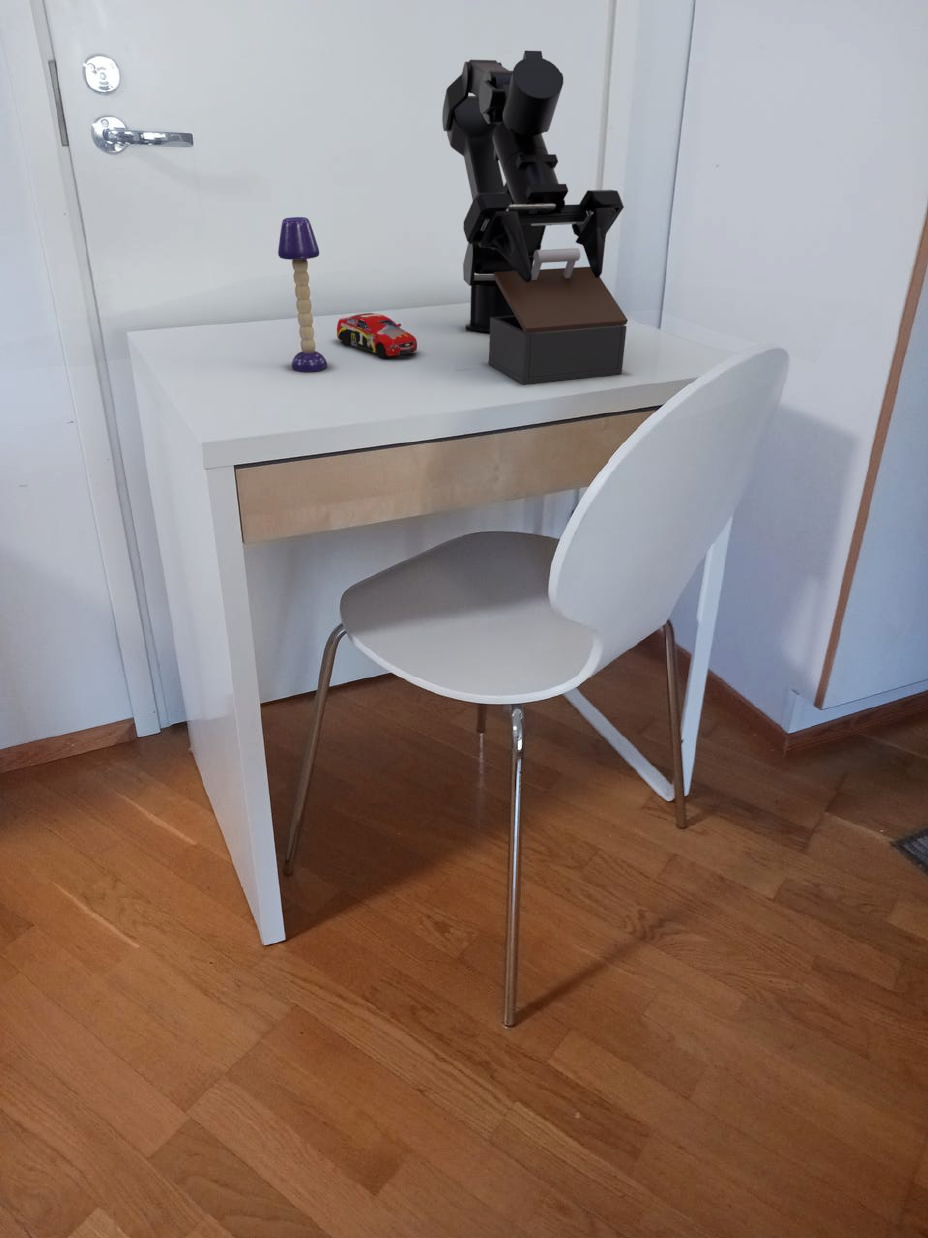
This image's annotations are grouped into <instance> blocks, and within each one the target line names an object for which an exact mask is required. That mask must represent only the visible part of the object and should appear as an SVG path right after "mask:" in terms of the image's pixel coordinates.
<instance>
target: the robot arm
mask: <svg viewBox="0 0 928 1238" xmlns="http://www.w3.org/2000/svg"><path fill="white" fill-rule="evenodd" d="M563 85H564V75H563V73H562V72H561V71H560V69H559V68H558V66H556V65H555V64H554V63H552V62H551V61H550V60H547V59H546V58H543V52H542V50H524V51H523V56H522V59H521V60H519V61H518V62H517V63H516V64H515V65H514V66H513V69H512V70H509V69H508V68H506V67H504V66H503V63H502V62H500V61H499V62H498V61H497V60H496V59H494V60H493V59H469V60H468V61H465V62H464V63H463V66H462V71H461V74H460V75H459V76H458V77H457V78H456V79H455V80H454V81H453V82H452V83H451V84H450V85H448V87H447V88H446V91H445V95H444V100H443V106H442V115H441V118H442V119H441V122H442V130H443V132H446V136H447V139H448V142H449V146H450V147H451V149H453V150H454V151H455V152H456V153H458V154H460V155H461V156H462V157H463V160H464V165H465V169H466V174H467V179H468V185H469V189H470V195H471V199H472V200H471V201H472V202H471V204H470V207H469V208H468V211H467V213H466V216H465V218H464V220H463V233H464V235H465V239H466V242H467V245H466V250H465V255H464V259H463V262H462V272H463V281H464V282H465V284H467V285H468V286H469V287H470V311H469V313H470V314H469V323H468V324H466V325H465V326H464V329H465V330H467V331H468V330H469V331H475V332H484V333H490V317H501V316H514V313H513V311H512V309H511V307H510V306H509V304H508V302H507V300H506V299H505V297H504V295H503V293H502V292H501V290H500V288H499V286H498V285H497V283H496V281H495V279H494V277H493V275H494V272H505V271H517V272H518V274H519V275H520V276H521V277H522V278H523V280H524V281H525V282H530V280H531V278H532V272H531V270H532V267H533V264H534V252H535V251H536V250H542V243H543V242H542V241H543V239H544V236H545V231H546V228H547V226H562V225H571V228H572V231H573V234H574V236H576V237H577V238H576V240H574V241H575V244H579V245H581V246H582V247H583V250H584V253H585V255H586V259H587V261H588V264H589V267H590V268H591V270H592V272H593V274H594V276H595V278H599V277H600V278H601V276H602V274H603V267H604V257H605V249H606V240H607V239H606V237H607V233H609V231H610V229H611V228H612V226H613V225H614V223H615V222H616V220H617V218H618V217H619V215H620V214H621V213H622V211H623V209H624V208H625V206H624V203H623V200H622V198H621V196H620V193H619V191H618V190H615V189H592V190H591V189H590V190H586V192H585V194H584V195H583V196H582V198H581V200H580V202H579V203H578V204H577V203H576V204H566V201H565V198H566V196H567V194H568V193H569V188H568V185H567V183H559V180H558V177H557V174H556V172H555V169H556V167H557V165H558V163H559V160H558V157H557V154H556V153H553V154H552V153H551V154H550V153H549V151H548V149H547V144H546V142H545V140H544V137H543V134H544V133H547V132H549V131H550V128H551V124H552V121H553V118H554V116H555V111H556V108H557V105H558V102H559V99H560V95H561V92H562V90H563ZM469 94H472V95H469ZM502 173H503V175H502ZM503 176H504V179H505V183H504V180H503Z"/></svg>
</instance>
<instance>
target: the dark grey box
mask: <svg viewBox="0 0 928 1238" xmlns="http://www.w3.org/2000/svg"><path fill="white" fill-rule="evenodd" d="M626 336H627V325H616V326H604V327H592V328H580V329H568V330H556V331H544V332H532V333H525V332H524V330H523V329H522V327H521V325H520V323H519V322H518V320H517V318H516V316H515V315H514V316H501V317H490V332H489V344H488V345H489V347H488V348H489V349H488V365H489V366H490V367H492V368H494V369H496V370H498V371H499V372H501V373H503V374H504V375H506V376H508V377H510V378H511V379H513V380H514V381H516V382H518V383H520V384H522V385H531V384H540V383H550V382H559V381H560V382H561V381H568V380H579V379H587V378H598V377H607V376H616V375H622V374H623V364H624V354H625V345H626Z"/></svg>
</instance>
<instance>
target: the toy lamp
mask: <svg viewBox="0 0 928 1238" xmlns="http://www.w3.org/2000/svg"><path fill="white" fill-rule="evenodd" d="M277 250H278V251H277V255H278V257H279V258H280V259H282V260H290V261H291V266H292V269H293V271H294V272H293V282H294V285H295V287H294V294H295V297H296V302H295V308H296V310H297V312H298V313H297V323H298V325H299V329H298V334H299V337H300V349H301V351H300V352H297V353H296V354H295V355H294V357H293V358H292V361H291V369H292V370H294V371H297V372H304V373H305V372H306V373H307V372H308V373H312V372H313V373H314V372H320V371H323V370H325V369H327V367H328V363H327V360H326V358H325V356H324V355H323V354H322V353H321V352H319V351H317V350H316V341H315V339H314V338H315V330H314V327H313V323H314V317H313V314H312V301H311V299H310V297H311V288H310V286H309V284H310V283H309V282H310V276H309V273H308V268H309V264H308V263H309V261H308V260H310V259H311V260H312V259H315V258H318V257H319V256H320V249H319V245H318V241H317V239H316V236H315V233H314V230H313V226H312V224H311V221H310V219H308V217H303V216H295V217H294V216H293V217H286V218H283V219H282V221H281V226H280V233H279V242H278V249H277Z"/></svg>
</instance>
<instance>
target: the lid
mask: <svg viewBox="0 0 928 1238" xmlns="http://www.w3.org/2000/svg"><path fill="white" fill-rule="evenodd" d="M580 259H581V250H580V248H578V247H571V248H552V249H540V250H536V251H535V252H534V262H533V267H532V270H531V272H532V278H531V280H530V282H525V281H524V280H523V278H522V277H521V276H520V275H519V274H518V272H517V271H505V272H494V275H493V277H494V279H495V281H496V283H497V285H498V286H499V288H500V290H501V292H502V293H503V295H504V297H505V299H506V300H507V302H508V304H509V306H510V307H511V309H512V311H513V313H514V315H515V316H516V318H517V320H518V322H519V323H520V325H521V327H522V329H523V330H524V332H525V333H532V332H544V331H556V330H568V329H580V328H592V327H604V326H616V325H625V326H627V323H628V321H629V320H628V318H627V317H626V315H625V313H624V311H623V310H622V308H621V307H620V306H619V304H618V302H617V301H616V299H615V298H614V297H613V295H612V293H611V292H610V290H609V289H608V287H607V285H606V284H605V283H604V281H603V280H602V278H601V276H600V277H599V278H595V276H594V274H593V272H592V270H591V268H590V266H577V267H576V266H575V265H576V262H578V261H579V260H580ZM564 262H566V265H565V267H560V268H559V267H558V268H557V267H556V268H543V269H541V268H542V264H547V263H564Z"/></svg>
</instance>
